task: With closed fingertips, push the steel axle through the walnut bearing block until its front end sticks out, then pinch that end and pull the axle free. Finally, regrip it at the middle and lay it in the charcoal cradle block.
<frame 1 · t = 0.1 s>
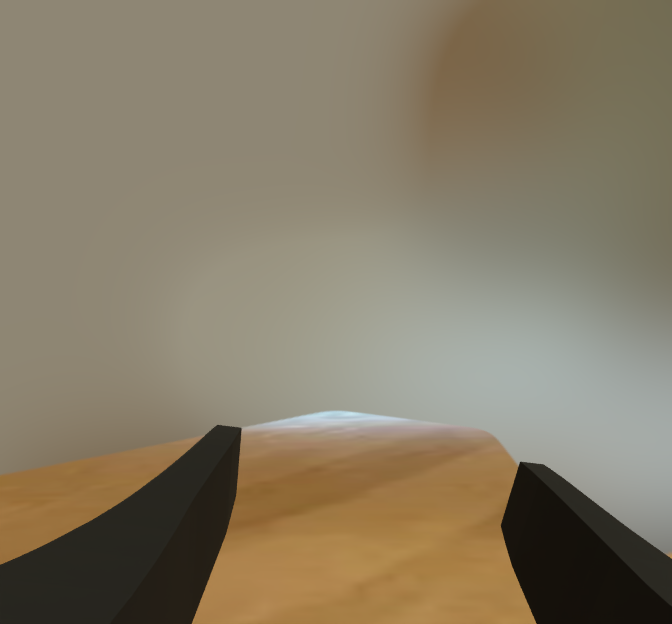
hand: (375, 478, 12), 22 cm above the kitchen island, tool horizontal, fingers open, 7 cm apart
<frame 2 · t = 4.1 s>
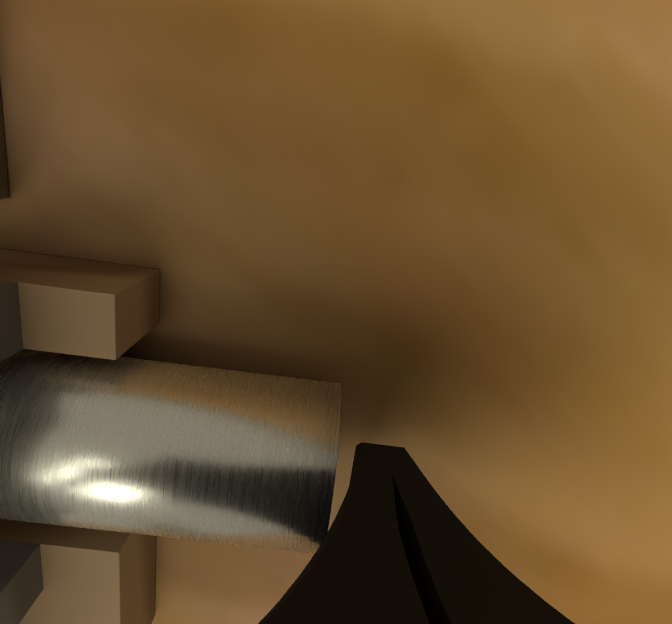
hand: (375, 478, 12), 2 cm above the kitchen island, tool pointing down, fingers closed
bearing block: (53, 397, 13), on the kitchen island
axle: (124, 409, 13), on the kitchen island, tilted 11°, touching gripper
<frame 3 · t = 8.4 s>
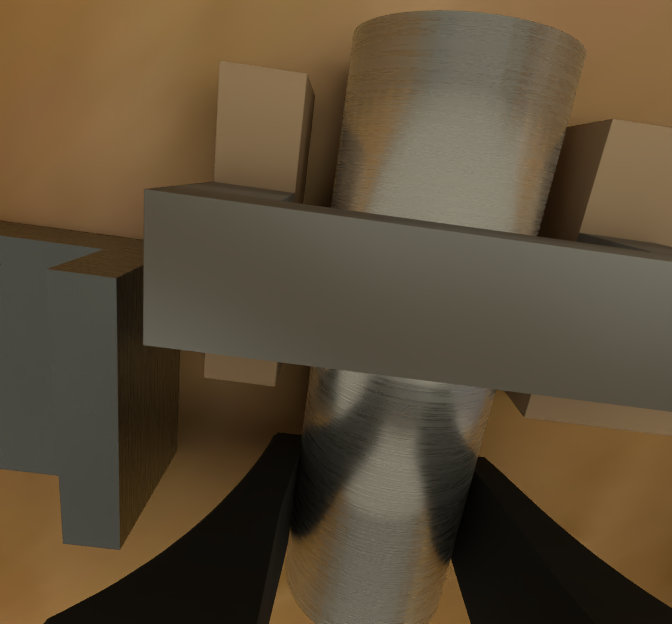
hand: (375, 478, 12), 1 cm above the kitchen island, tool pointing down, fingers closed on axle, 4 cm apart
bearing block: (409, 244, 11), on the kitchen island
axle: (395, 326, 12), on the kitchen island, touching gripper
cradle: (31, 337, 12), on the kitchen island
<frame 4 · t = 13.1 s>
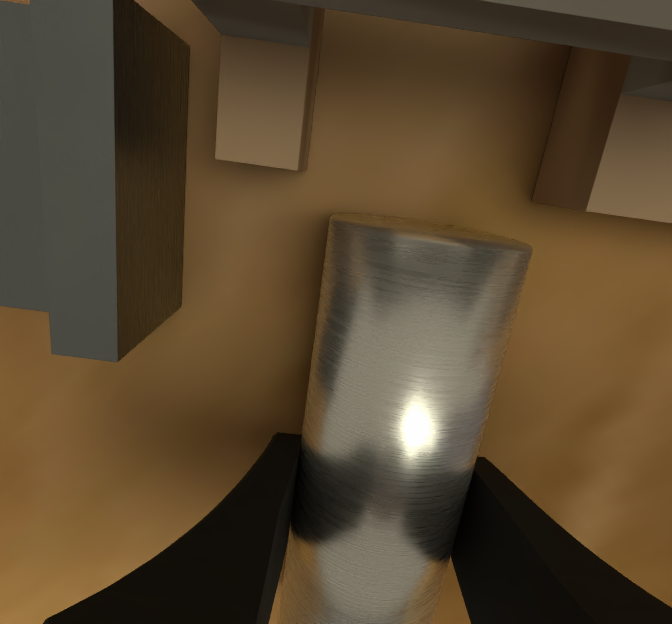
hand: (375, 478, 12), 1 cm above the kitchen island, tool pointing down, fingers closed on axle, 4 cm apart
bearing block: (446, 43, 10), on the kitchen island
axle: (375, 431, 13), on the kitchen island, touching gripper
cradle: (18, 164, 11), on the kitchen island
when the fingers open (4 cm above the kitchen island, at t = 16.3 s): axle stays where it is, resting on cradle.
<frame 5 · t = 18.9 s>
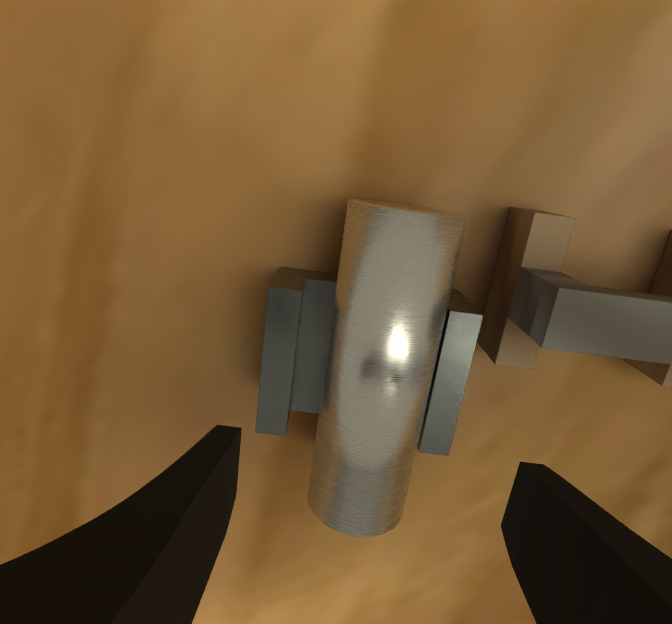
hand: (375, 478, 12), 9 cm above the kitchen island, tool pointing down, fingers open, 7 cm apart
bearing block: (587, 290, 20), on the kitchen island
axle: (361, 347, 19), point 2 cm above the kitchen island, tilted 16°, touching cradle
cradle: (359, 342, 20), on the kitchen island
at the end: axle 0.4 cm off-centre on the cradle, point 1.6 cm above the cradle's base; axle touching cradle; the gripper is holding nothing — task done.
